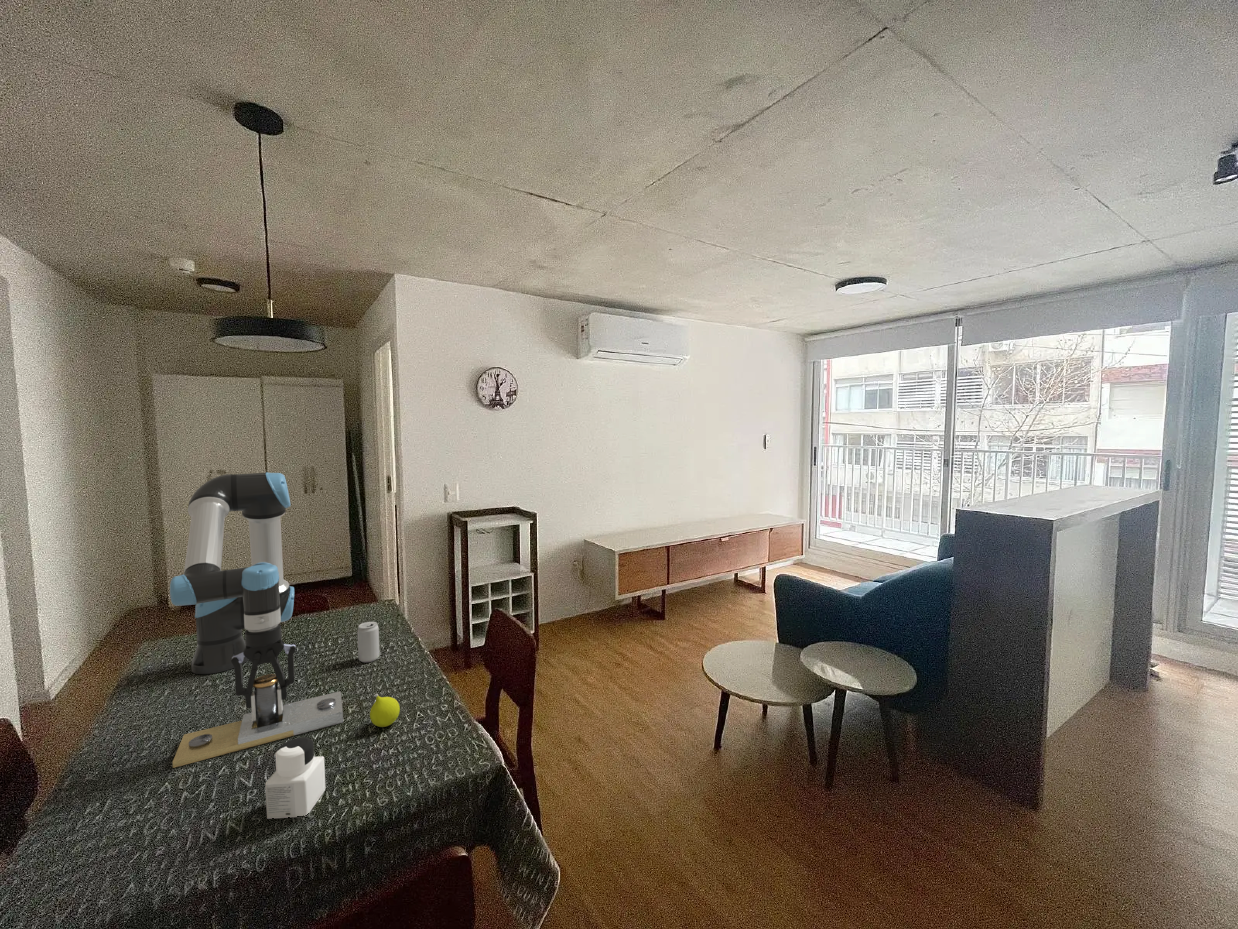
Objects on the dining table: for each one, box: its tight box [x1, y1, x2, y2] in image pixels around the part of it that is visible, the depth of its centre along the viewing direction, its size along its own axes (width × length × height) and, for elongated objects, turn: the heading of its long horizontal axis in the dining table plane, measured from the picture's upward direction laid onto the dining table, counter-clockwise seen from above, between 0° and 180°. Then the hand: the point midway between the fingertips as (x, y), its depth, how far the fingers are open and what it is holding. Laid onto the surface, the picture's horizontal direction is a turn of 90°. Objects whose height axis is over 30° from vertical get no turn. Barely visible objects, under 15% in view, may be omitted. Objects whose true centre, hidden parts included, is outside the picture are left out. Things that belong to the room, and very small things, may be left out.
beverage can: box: [356, 621, 381, 663], centre depth 168 cm, size 6×6×12 cm
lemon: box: [369, 693, 401, 728], centre depth 131 cm, size 7×7×10 cm
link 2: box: [238, 690, 344, 744], centre depth 131 cm, size 12×22×4 cm, turn 122°
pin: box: [253, 673, 279, 728], centre depth 128 cm, size 6×6×12 cm
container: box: [265, 736, 326, 820], centre depth 103 cm, size 8×8×13 cm
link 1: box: [172, 715, 295, 768], centre depth 125 cm, size 12×23×2 cm, turn 122°
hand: (267, 714), depth 128 cm, fingers closed on pin, 5 cm apart
